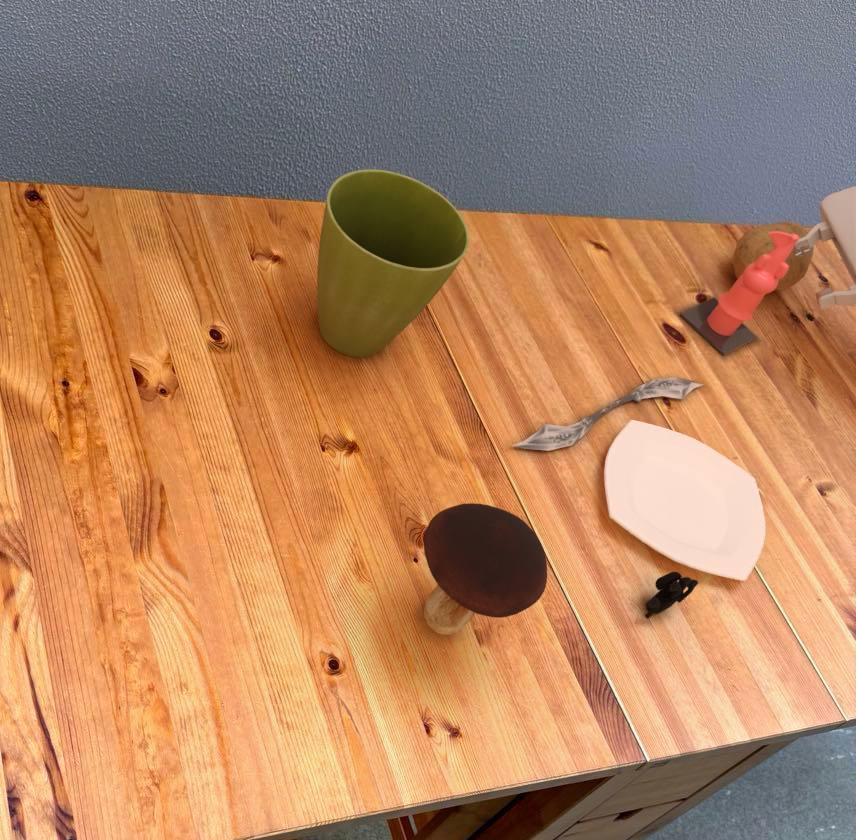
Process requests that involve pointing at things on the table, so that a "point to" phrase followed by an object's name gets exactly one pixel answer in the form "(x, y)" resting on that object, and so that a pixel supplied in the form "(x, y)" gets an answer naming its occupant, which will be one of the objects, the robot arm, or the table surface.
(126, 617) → the table surface
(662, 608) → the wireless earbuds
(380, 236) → the flower pot
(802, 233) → the potato
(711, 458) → the plate
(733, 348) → the coaster
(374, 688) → the table surface
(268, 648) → the table surface
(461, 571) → the decorative mushroom
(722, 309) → the figurine
